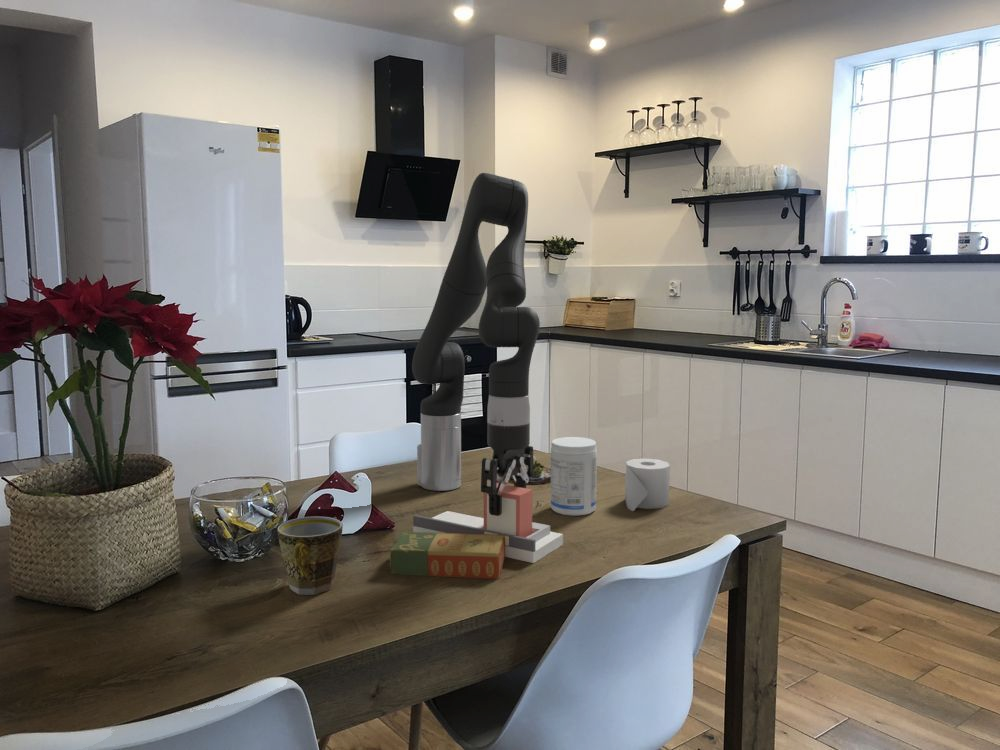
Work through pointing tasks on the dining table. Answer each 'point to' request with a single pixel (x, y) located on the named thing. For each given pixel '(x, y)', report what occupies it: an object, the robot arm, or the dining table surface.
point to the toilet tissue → (647, 483)
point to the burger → (538, 474)
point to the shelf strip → (515, 546)
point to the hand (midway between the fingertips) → (508, 508)
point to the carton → (448, 555)
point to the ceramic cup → (310, 552)
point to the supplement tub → (573, 475)
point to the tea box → (511, 512)
